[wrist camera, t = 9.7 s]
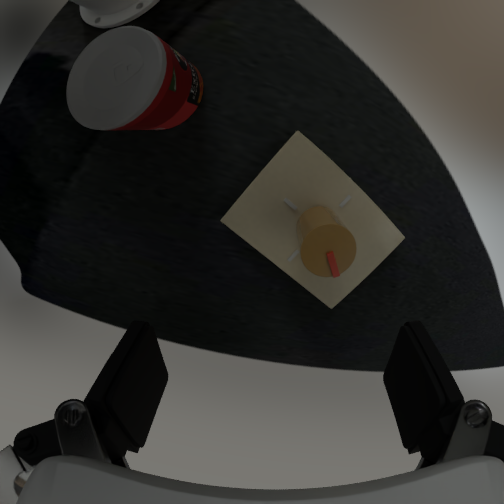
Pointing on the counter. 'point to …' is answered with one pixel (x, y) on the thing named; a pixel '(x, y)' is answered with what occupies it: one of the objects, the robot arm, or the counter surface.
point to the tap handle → (325, 242)
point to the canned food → (132, 83)
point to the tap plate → (301, 199)
